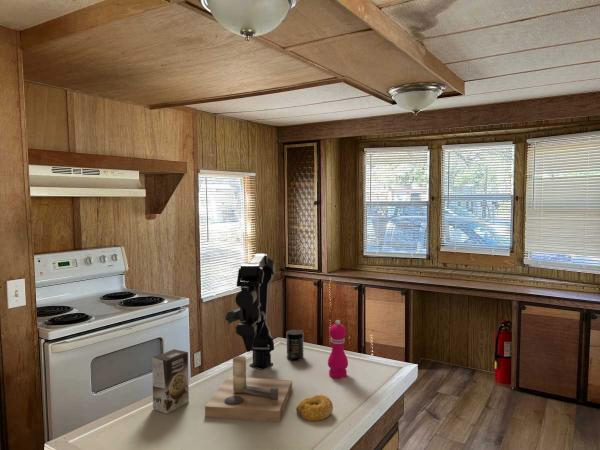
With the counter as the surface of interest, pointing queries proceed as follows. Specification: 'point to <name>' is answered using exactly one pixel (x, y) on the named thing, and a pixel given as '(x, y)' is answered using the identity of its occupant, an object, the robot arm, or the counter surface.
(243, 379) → the folding leg
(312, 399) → the bagel
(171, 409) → the coffee box
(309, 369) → the counter surface
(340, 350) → the pepper mill
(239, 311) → the robot arm
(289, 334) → the supplement container
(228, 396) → the stool seat
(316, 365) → the counter surface
